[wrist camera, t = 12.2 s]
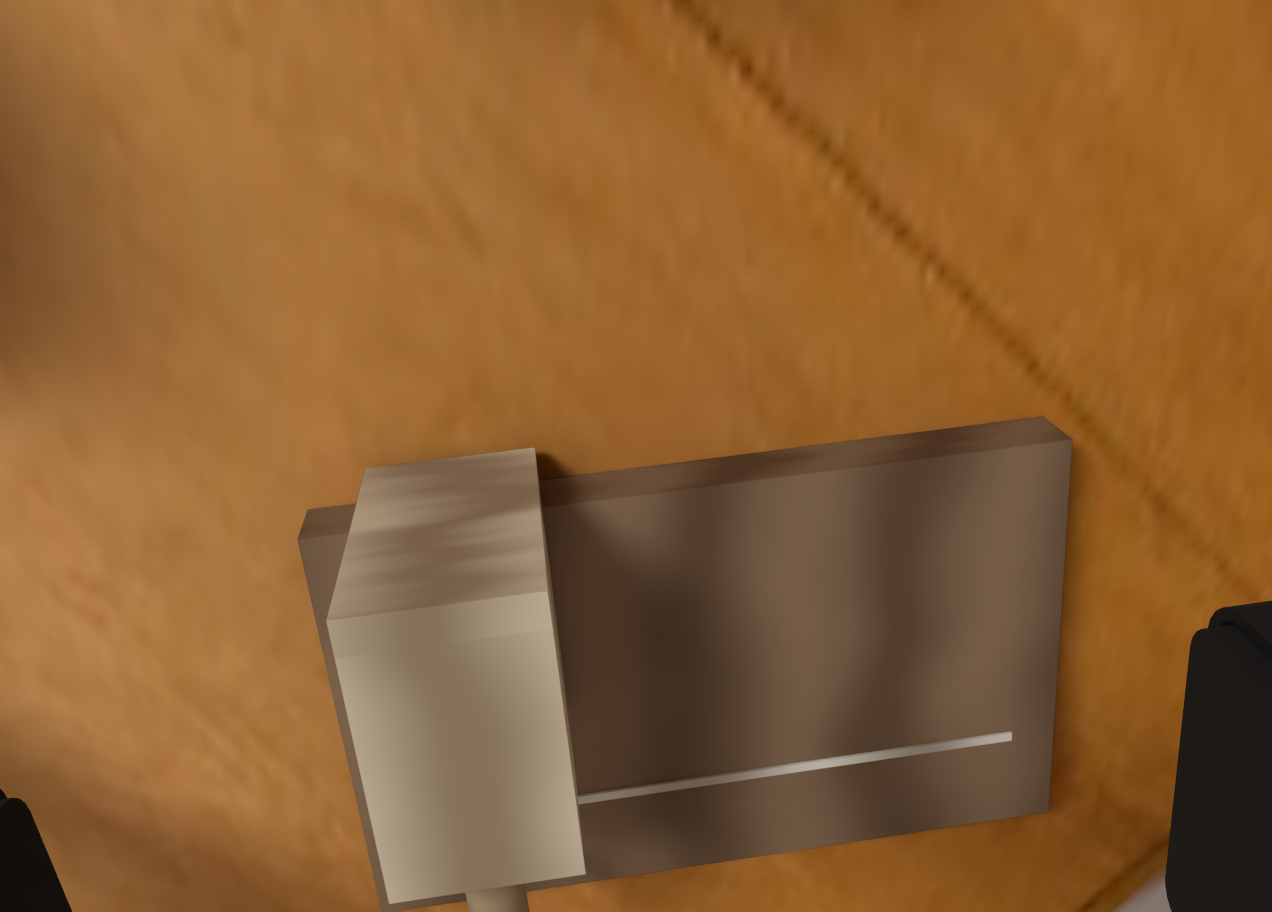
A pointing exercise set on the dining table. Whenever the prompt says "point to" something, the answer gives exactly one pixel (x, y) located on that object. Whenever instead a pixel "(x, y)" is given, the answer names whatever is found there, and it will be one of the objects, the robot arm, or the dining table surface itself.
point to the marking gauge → (457, 681)
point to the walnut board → (793, 643)
